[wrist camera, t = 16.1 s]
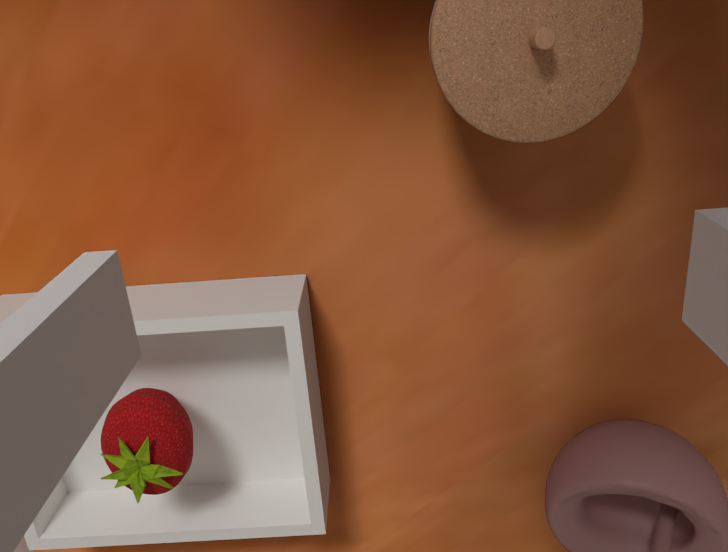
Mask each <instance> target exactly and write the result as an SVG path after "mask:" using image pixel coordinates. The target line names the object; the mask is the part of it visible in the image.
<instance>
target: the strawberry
mask: <svg viewBox="0 0 728 552" xmlns="http://www.w3.org/2000/svg"><path fill="white" fill-rule="evenodd" d="M101 450H102V454H100V455H102V456H103V457H104V460H105V462H106V464H107V466H108V467H109V469H110V471H111V472H112V473H111V474H109V475H107V476H104V477H102V478H101V479H111V480H118V481H117V483H116V486H115V488H118V487H121V486H125V487H127V488H129V489H131V490H133V493H134V496H135V498H136V501H137V504H138V503H139V501H140V498H141V496H142V494H148V495H158V494H163V493H166V492H168V491H170V490H172V489H173V488H175V487H176V486H177V485H178V484H179V483H180V481H181V480H182V479H183V477H184V476H185V475H186V473H187V472H188V470H189V468H190V466H191V463H192V458H193V428H192V423H191V421H190V418H189V416H188V414H187V412H186V410H185V409H184V407H183V406H182V405H181V403H180V402H179V401H178V400H177V399H176V398H175V397H174V396H173V395H172V394H170V393H169V392H166V391H164V390H159V389H154V388H142V389H137V390H135V391H133V392H131V393H129V394H128V395H126V396H125V397H123V398H122V399H120V400H119V401H117V402H116V403H115V404H114V405H113V406H112V407H111V409H110V410H109V412H108V414H107V416H106V419H105V422H104V425H103V429H102V433H101Z"/></svg>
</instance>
